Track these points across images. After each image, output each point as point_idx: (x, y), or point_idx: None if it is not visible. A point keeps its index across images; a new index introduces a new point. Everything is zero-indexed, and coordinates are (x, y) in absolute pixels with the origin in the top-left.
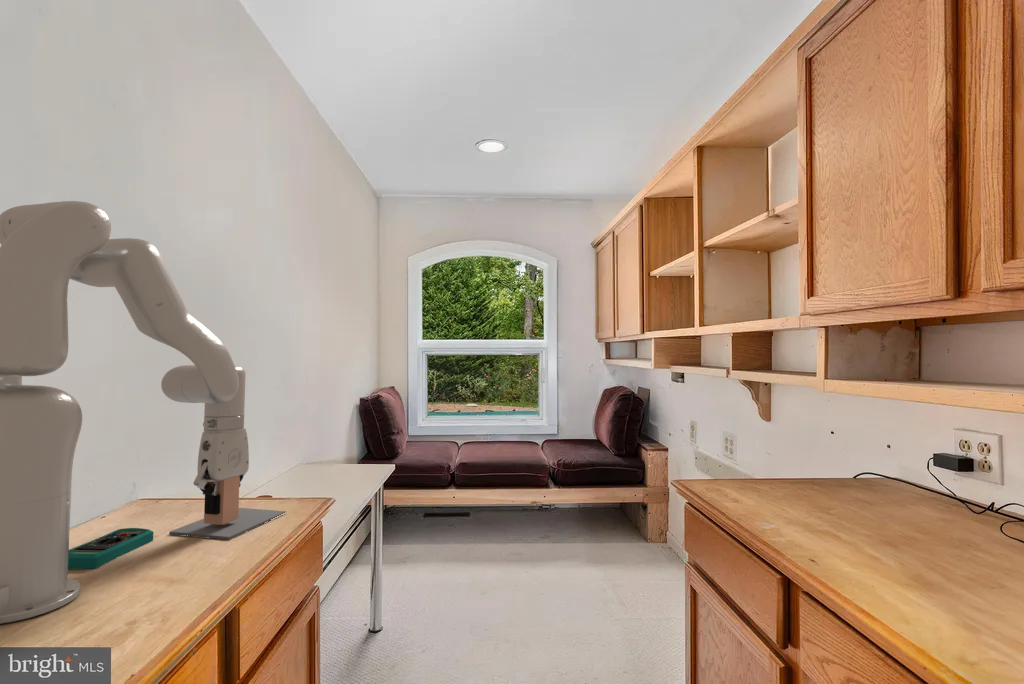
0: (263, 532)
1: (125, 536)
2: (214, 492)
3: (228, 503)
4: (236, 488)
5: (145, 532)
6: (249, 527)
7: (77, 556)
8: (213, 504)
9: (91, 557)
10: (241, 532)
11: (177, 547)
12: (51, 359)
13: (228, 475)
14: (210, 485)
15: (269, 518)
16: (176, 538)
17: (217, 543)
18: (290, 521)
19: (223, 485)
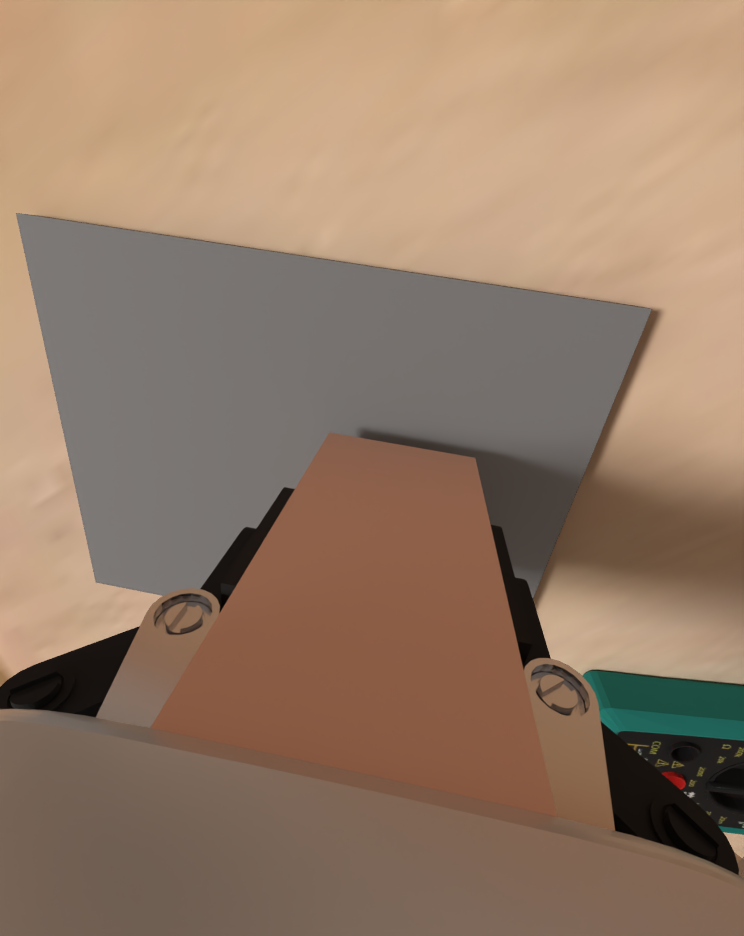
0: (471, 126)
1: (695, 767)
2: (572, 703)
3: (426, 521)
4: (290, 583)
5: (651, 729)
6: (427, 282)
7: None
8: (522, 604)
9: None
10: (522, 289)
11: (726, 534)
12: None
13: (532, 890)
14: (654, 840)
15: (205, 247)
16: (563, 603)
17: (701, 351)
18: (169, 39)
19: (527, 720)
